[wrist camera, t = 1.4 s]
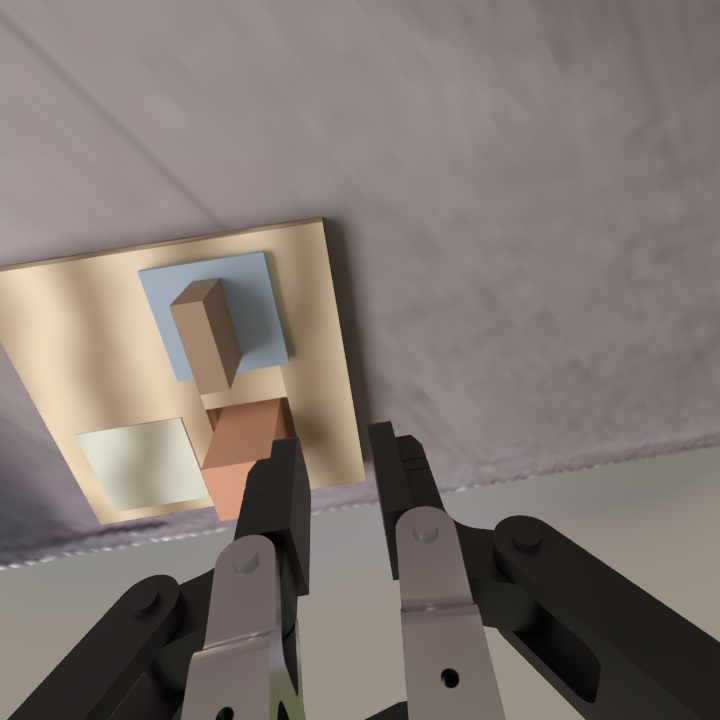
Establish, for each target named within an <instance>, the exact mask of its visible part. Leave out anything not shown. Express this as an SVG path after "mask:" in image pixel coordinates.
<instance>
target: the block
mask: <svg viewBox="0 0 720 720" xmlns="http://www.w3.org/2000/svg"><path fill="white" fill-rule="evenodd" d="M289 437H291V436H290V432H289V428H288V424H287V420H286V416H285V412H284V408H283V404H282V400H281V398H275V399H269V400H263V401H256V402H250V403H244V404H238V405H232V406H226V407H223V410H222V412H221V415H220V418H219V421H218V424H217V426H216V429H215V432H214V435H213V437H212V440H211V443H210V446H209V449H208V451H207V454H206V457H205V460H204V462H203V465H202V468H201V472H202V475H203V477H204V480H205V483H206V485H207V488H208V490H209V493H210V496H211V498H212V501H213V504H214V506H215V509H216V511H217V514H218V517H219V519H220V521H226V520H232V519H238V517H239V513H240V508H241V503H242V500H243V494H244V489H245V485H246V480H247V475H248V472H249V471H250V469H251V468H252V467H253V465H254V464H255V463H256V461H257V460H260V459H266V458H270V455H271V448H272V442H273V440H277V439H283V438H289Z"/></svg>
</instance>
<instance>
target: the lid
mask: <svg viewBox="0 0 720 720" xmlns="http://www.w3.org/2000/svg"><path fill="white" fill-rule="evenodd" d="M137 273H138V275H139V278H140V281H141V283H142V286H143V289H144V292H145V294H146V297H147V300H148V302H149V305H150V308H151V311H152V313H153V316H154V319H155V321H156V324H157V327H158V330H159V332H160V335H161V338H162V340H163V343H164V346H165V348H166V351H167V354H168V357H169V359H170V362H171V365H172V367H173V370H174V373H175V376H176V378H177V381H178V382H179V381H185V380H191V379H194V380H195V382H196V385H197V388H198V391H199V394H200V395H205V394H211V393H217V392H223V391H229V390H230V389H231V386H232V384H233V381H234V378H235V375H236V372H241V371H247V370H253V369H259V368H266V367H272V366H278V365H284V364H289V361H290V360H289V356H288V351H287V347H286V343H285V338H284V334H283V330H282V325H281V321H280V317H279V312H278V308H277V304H276V300H275V295H274V291H273V287H272V282H271V278H270V274H269V269H268V265H267V261H266V256H265V252H264V250H263V251H257V252H250V253H244V254H238V255H231V256H225V257H218V258H212V259H206V260H199V261H193V262H186V263H180V264H174V265H167V266H161V267H154V268H148V269H142V270H139V271H138V272H137Z"/></svg>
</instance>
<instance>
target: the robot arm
mask: <svg viewBox="0 0 720 720" xmlns="http://www.w3.org/2000/svg"><path fill="white" fill-rule="evenodd" d="M367 427H368V434H369V440H370V447H371V453H372V460H373V466H374V472H375V478H376V484H377V490H378V496H379V501H380V507H381V512H382V518H383V524H384V530H385V535H386V541H387V547H388V553H389V558H390V564H391V570H392V576H393V580H399V581H400V593H401V607H402V608H401V623H402V637H403V651H404V663H405V677H406V691H407V701H405V702H399V703H397V704H395V705H393V706H391V707H389V708H387V709H385V710H383V711H381V712H379V713H377V714H375V715H373V716H371V717H369V718H367V719H365V720H506V719H505V714H504V710H503V706H502V702H501V698H500V694H499V690H498V686H497V681H496V677H495V673H494V669H493V665H492V661H491V657H490V652H489V649H488V644H487V640H486V636H485V632H484V628H483V626H487V627H493V628H497V629H498V630H499V632H500V634H501V635H502V636H503V637H504V638H505V639H506V640H507V641H508V642H509V643H510V644H511V645H512V646H513V647H514V648H515V649H516V650H517V651H518V652H519V653H520V654H521V655H522V656H523V657H524V658H525V659H526V660H527V661H528V662H529V663H530V664H531V665H532V666H533V667H534V668H535V669H536V670H537V671H538V672H539V673H540V674H541V675H542V676H543V677H544V678H545V679H546V680H547V681H548V682H549V683H550V684H551V685H552V686H553V687H554V688H555V689H556V690H557V691H558V692H559V693H560V694H561V695H562V696H563V697H564V698H565V699H566V700H567V701H568V702H569V703H570V704H571V705H572V706H573V707H574V708H575V709H576V710H577V711H578V712H579V713H580V714H581V715H582V716H583V717H584V718H585V719H586V720H720V642H718V641H717V640H716V639H714V638H713V637H711V636H710V635H708V634H707V633H706V632H704V631H703V630H701V629H700V628H698V627H697V626H695V625H694V624H692V623H691V622H689V621H688V620H687V619H685V618H684V617H682V616H681V615H679V614H678V613H676V612H675V611H673V610H672V609H671V608H669V607H668V606H666V605H664V604H663V603H662V602H660V601H659V600H657V599H656V598H654V597H653V596H652V595H650V594H649V593H647V592H646V591H644V590H643V589H641V588H640V587H638V586H637V585H636V584H634V583H633V582H631V581H630V580H628V579H627V578H625V577H624V576H622V575H621V574H619V573H618V572H616V571H615V570H614V569H612V568H611V567H609V566H608V565H606V564H605V563H603V562H602V561H601V560H599V559H597V558H596V557H595V556H593V555H592V554H590V553H589V552H587V551H586V550H584V549H583V548H582V547H580V546H579V545H577V544H576V543H574V542H573V541H571V540H570V539H568V538H567V537H565V536H564V535H562V534H561V533H560V532H558V531H557V530H555V529H554V528H552V527H551V526H549V525H548V524H546V523H545V522H543V521H541V520H539V519H537V518H534V517H529V516H522V515H521V516H520V515H518V516H511V517H508V518H506V519H504V520H502V521H501V522H499V523H498V524H497V526H496V527H495V530H487V529H477V528H472V527H468V526H465V525H462V524H460V523H458V522H457V521H455V520H454V519H452V518H451V517H450V516H449V515H448V514H447V512H446V511H445V509H444V507H443V504H442V501H441V498H440V495H439V492H438V490H437V487H436V484H435V481H434V478H433V475H432V472H431V470H430V467H429V464H428V461H427V459H426V455H425V452H424V450H423V447H422V444H421V443H420V442H419V441H417V440H416V439H415V438H414V437H413V436H412V435H406V436H400V437H395V435H394V431H393V427H392V424H391V421H387V422H381V423H375V424H369V425H367ZM310 511H311V491H310V482H309V477H308V472H307V468H306V464H305V460H304V456H303V452H302V448H301V444H300V440H299V437H298V436H295V437H289V438H283V439H277V440H273V442H272V448H271V455H270V458H266V459H260V460H257V461H256V463H255V464H254V465H253V467H252V468H251V469H250V471H249V472H248V475H247V480H246V485H245V489H244V494H243V500H242V503H241V508H240V513H239V517H238V522H237V527H236V532H235V536H234V541H233V542H232V543H231V544H229V545H228V546H227V547H226V548H225V549H224V550H223V551H222V552H221V553H220V555H219V557H218V559H217V561H216V564H215V568H213V569H212V570H210V571H208V572H207V573H205V574H203V575H201V576H198V577H196V578H194V579H192V580H189V581H187V582H185V583H183V584H181V585H178V583H177V581H176V580H175V579H174V578H173V577H171V576H168V575H155V576H151V577H148V578H146V579H144V580H141V581H140V582H138V583H137V584H135V585H133V586H132V587H131V588H130V589H128V590H127V591H126V592H125V593H124V594H123V595H122V596H121V597H120V599H119V600H118V601H117V602H116V603H115V604H114V605H113V606H112V607H111V608H110V609H109V610H108V612H107V613H106V614H105V615H104V616H103V617H102V618H101V619H100V620H99V621H98V622H97V623H96V625H95V626H94V627H93V628H92V629H91V630H90V631H89V632H88V633H87V634H86V635H85V637H83V638H82V640H81V641H80V642H79V643H78V644H77V645H76V646H75V647H74V648H73V649H72V650H71V651H70V653H69V654H68V655H67V656H66V657H65V658H64V659H63V660H62V661H61V662H60V663H59V665H57V667H56V668H55V669H54V670H53V671H52V672H51V673H50V674H49V676H47V677H46V679H45V680H44V681H43V682H42V683H41V684H40V685H39V686H38V687H37V688H36V690H34V691H33V692H32V694H31V695H30V696H29V697H28V698H27V699H26V700H25V701H24V702H23V703H22V704H21V706H20V707H19V708H18V709H17V710H16V711H15V712H14V713H13V714H12V715H11V716H10V717H9V718H8V719H7V720H306V718H305V712H304V704H303V690H302V673H301V658H300V641H299V626H298V620H297V617H296V616H297V597H298V596H303V595H308V594H309V563H310V561H309V560H310ZM141 675H142V676H141ZM138 679H139V680H138ZM135 683H136V684H135ZM132 687H133V688H132ZM128 692H129V693H128ZM125 696H126V697H125ZM122 700H123V701H122ZM119 704H120V705H119ZM116 708H117V709H116ZM113 712H114V713H113ZM112 713H113V714H112ZM109 717H110V718H109Z"/></svg>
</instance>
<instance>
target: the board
mask: <svg viewBox="0 0 720 720" xmlns="http://www.w3.org/2000/svg"><path fill="white" fill-rule="evenodd" d="M263 250H264V252H265V256H266V261H267V265H268V269H269V274H270V278H271V282H272V287H273V291H274V295H275V300H276V304H277V308H278V312H279V317H280V321H281V325H282V330H283V334H284V338H285V343H286V347H287V351H288V356H289V360H290V361H289V364H284V365H278V366H272V367H266V368H259V369H253V370H247V371H241V372H236V375H235V378H234V381H233V384H232V386H231V389H230V390H229V391H223V392H217V393H211V394H205V395H200V394H199V391H198V388H197V385H196V382H195V380H194V379H191V380H185V381H179V382H178V381H177V378H176V376H175V373H174V370H173V367H172V365H171V362H170V359H169V357H168V354H167V351H166V348H165V346H164V343H163V340H162V338H161V335H160V332H159V330H158V327H157V324H156V321H155V319H154V316H153V313H152V311H151V308H150V305H149V302H148V300H147V297H146V294H145V292H144V289H143V286H142V283H141V281H140V278H139V275H138V273H137V272H138V271H139V270H142V269H148V268H154V267H161V266H167V265H174V264H180V263H186V262H193V261H199V260H206V259H212V258H218V257H225V256H231V255H238V254H244V253H250V252H257V251H263ZM0 342H1V343H2V345H3V347H4V349H5V351H6V353H7V354H8V356H9V358H10V360H11V362H12V363H13V365H14V367H15V369H16V371H17V373H18V374H19V376H20V378H21V380H22V382H23V384H24V385H25V387H26V389H27V391H28V393H29V394H30V396H31V398H32V400H33V402H34V404H35V405H36V407H37V409H38V411H39V413H40V414H41V416H42V418H43V420H44V422H45V424H46V425H47V427H48V429H49V431H50V433H51V434H52V436H53V438H54V440H55V442H56V444H57V445H58V447H59V449H60V451H61V453H62V454H63V456H64V458H65V460H66V462H67V464H68V465H69V467H70V469H71V471H72V473H73V474H74V476H75V478H76V480H77V482H78V484H79V485H80V487H81V489H82V491H83V493H84V494H85V496H86V498H87V500H88V502H89V504H90V505H91V507H92V509H93V511H94V513H95V515H96V516H97V518H98V520H99V522H100V524H107V523H113V522H119V521H125V520H131V519H137V518H143V517H149V516H155V515H161V514H167V513H173V512H179V511H185V510H191V509H197V508H203V507H209V506H214V504H213V501H212V498H211V496H210V493H209V490H208V488H207V485H206V483H205V480H204V477H203V475H202V472H201V468H202V465H203V462H204V460H205V457H206V454H207V451H208V449H209V446H210V443H211V440H212V437H213V435H214V432H215V429H216V426H217V424H218V421H219V418H220V415H221V412H222V410H223V407H226V406H232V405H238V404H244V403H250V402H256V401H263V400H269V399H275V398H281V400H282V404H283V408H284V412H285V416H286V420H287V424H288V428H289V432H290V436H291V437H295V436H298V437H299V440H300V444H301V448H302V452H303V456H304V460H305V464H306V468H307V472H308V477H309V482H310V490H311V489H317V488H323V487H329V486H335V485H341V484H347V483H353V482H359V481H365V480H366V478H365V471H364V464H363V458H362V452H361V446H360V440H359V434H358V428H357V422H356V417H355V411H354V405H353V399H352V393H351V387H350V381H349V375H348V369H347V363H346V357H345V351H344V345H343V339H342V333H341V327H340V321H339V315H338V309H337V303H336V298H335V292H334V286H333V280H332V274H331V268H330V262H329V256H328V250H327V244H326V238H325V232H324V226H323V220H322V217H317V218H311V219H304V220H298V221H291V222H285V223H279V224H272V225H266V226H259V227H253V228H246V229H240V230H233V231H227V232H220V233H214V234H208V235H201V236H195V237H188V238H182V239H175V240H169V241H162V242H156V243H150V244H143V245H137V246H130V247H124V248H117V249H111V250H104V251H98V252H92V253H85V254H79V255H72V256H66V257H59V258H53V259H46V260H40V261H34V262H27V263H21V264H14V265H8V266H1V267H0Z"/></svg>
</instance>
